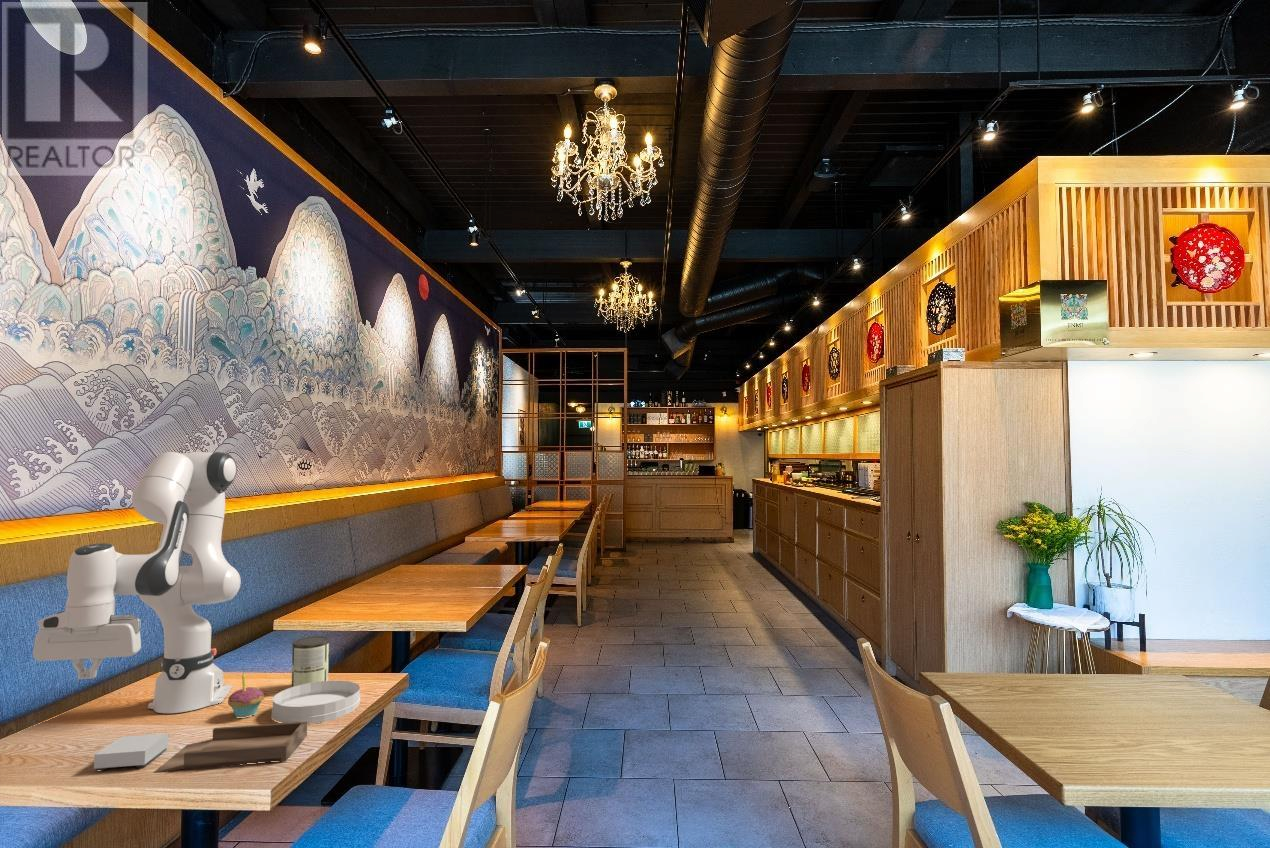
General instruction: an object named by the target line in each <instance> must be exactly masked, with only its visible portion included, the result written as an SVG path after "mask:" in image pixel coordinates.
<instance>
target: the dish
mask: <svg viewBox="0 0 1270 848" xmlns="http://www.w3.org/2000/svg"><path fill="white" fill-rule="evenodd" d="M360 689H361V688H360V685H359V684H357V683H356V682H353V681H349V680H328V681H320V682H312V683H307V684H302V685H298V686H295V687H292V686H291V687H288V688H286V689H284V690H281V691H279V692H278V693H276V694H275V695H274V696H273V697H272V708H271V719H272V718H273V719H274V720H276V721H279V722H282V723H292V722H306V721H307V724H310V723H318V724H320V723H319V722H324V723H326V722H325V721H328V722H331V721H330V720H332V721H336V720H338V719H337V718H339V717H342V716H344V715H346V714H348V713H350V712H352V711H354V710H355V709H356V708H357V707H358V706H359V704H360V705H361V694H360V692H361V691H360ZM359 707H360V706H359ZM354 712H355V711H354ZM342 718H343V717H342ZM335 719H336V720H335ZM339 719H340V718H339Z"/></svg>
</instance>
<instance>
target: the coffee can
mask: <svg viewBox="0 0 1270 848" xmlns="http://www.w3.org/2000/svg"><path fill="white" fill-rule="evenodd" d="M291 643H292V644H291V645H292V654H291V655H292V658H291V659H292V662H291V664H292V665H291V687H295V686H298V685H302V684H307V683H312V682H320V681H329V657H330V656H329V654H330V650H329V649H330V637H328V636H323V635H321V636H320V635H319V636H317V635H315V636H314V635H313V636H307V637H301V638H297V639H295V640H293V641H292V642H291Z"/></svg>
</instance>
